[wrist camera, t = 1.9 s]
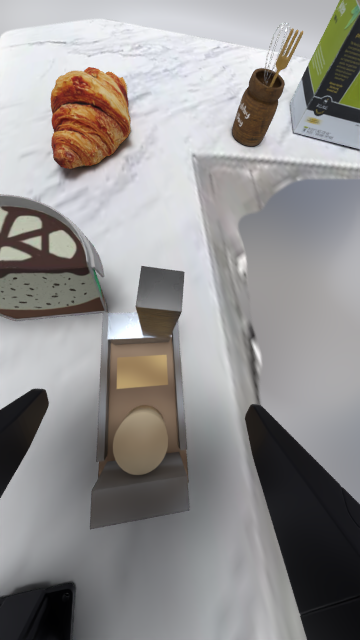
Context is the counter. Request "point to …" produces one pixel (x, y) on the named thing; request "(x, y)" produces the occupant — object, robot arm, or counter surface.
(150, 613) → the counter surface
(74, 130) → the croissant
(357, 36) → the tea box
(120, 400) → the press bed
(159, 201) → the counter surface
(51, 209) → the food container
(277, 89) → the utensil holder
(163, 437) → the nut
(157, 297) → the block
